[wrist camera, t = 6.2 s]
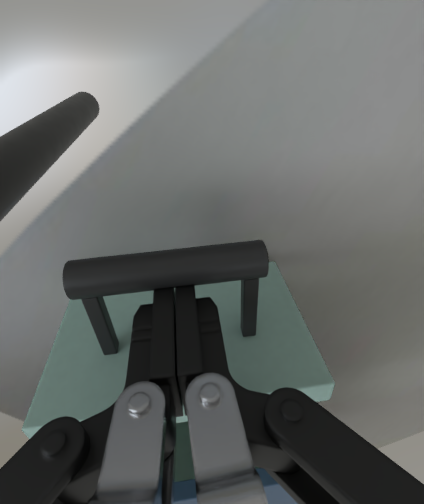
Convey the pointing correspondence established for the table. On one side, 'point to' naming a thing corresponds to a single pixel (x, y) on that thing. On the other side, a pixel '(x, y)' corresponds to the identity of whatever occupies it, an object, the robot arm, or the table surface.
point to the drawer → (141, 292)
